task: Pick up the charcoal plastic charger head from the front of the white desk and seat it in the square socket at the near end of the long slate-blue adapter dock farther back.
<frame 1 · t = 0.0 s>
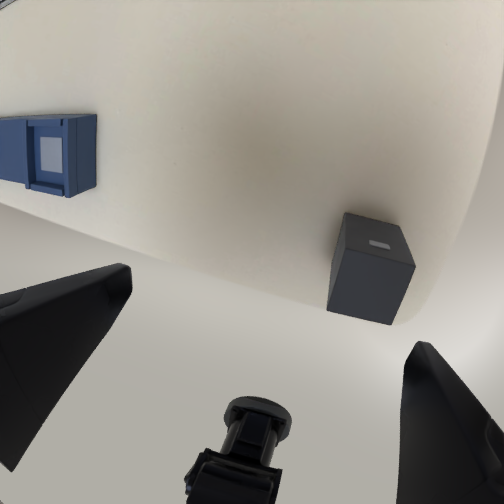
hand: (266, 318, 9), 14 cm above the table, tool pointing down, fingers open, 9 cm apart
adapter: (29, 145, 26), on the table
charger: (365, 245, 22), on the table
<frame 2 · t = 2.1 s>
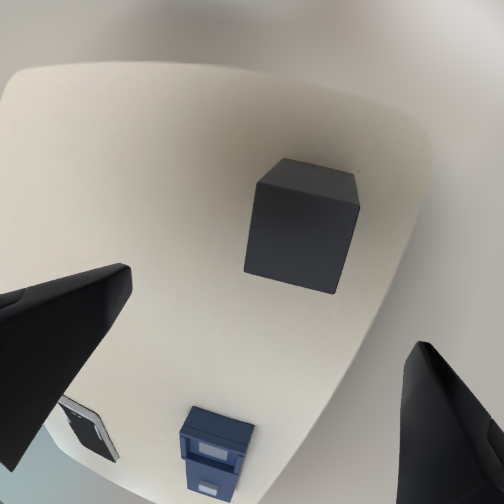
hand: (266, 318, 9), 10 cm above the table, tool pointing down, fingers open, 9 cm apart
adapter: (217, 456, 33), on the table
charger: (311, 199, 18), on the table
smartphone: (91, 428, 42), on the table
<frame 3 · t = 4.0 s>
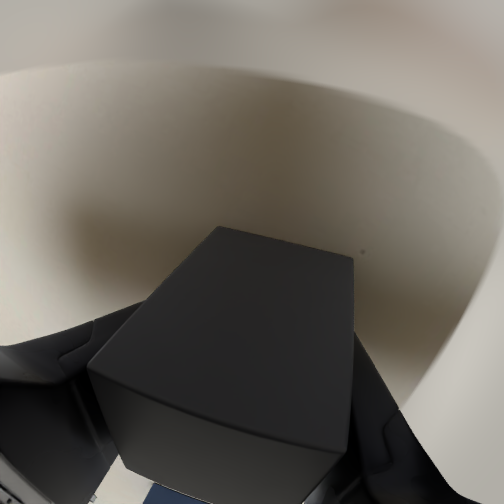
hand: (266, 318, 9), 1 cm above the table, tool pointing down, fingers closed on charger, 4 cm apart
charger: (273, 298, 10), on the table, touching gripper
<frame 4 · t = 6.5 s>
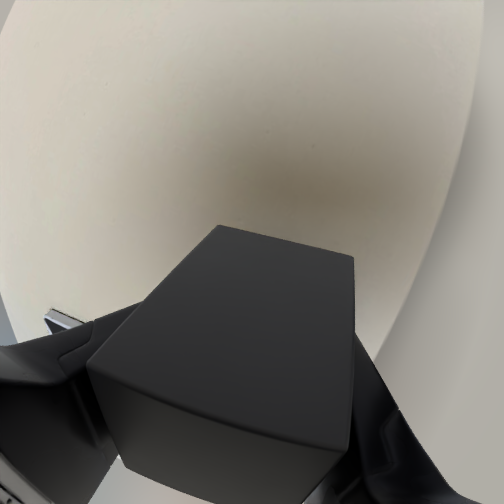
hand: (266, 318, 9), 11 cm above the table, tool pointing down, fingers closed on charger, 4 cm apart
charger: (273, 297, 10), point 10 cm above the table, touching gripper
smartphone: (87, 363, 34), on the table
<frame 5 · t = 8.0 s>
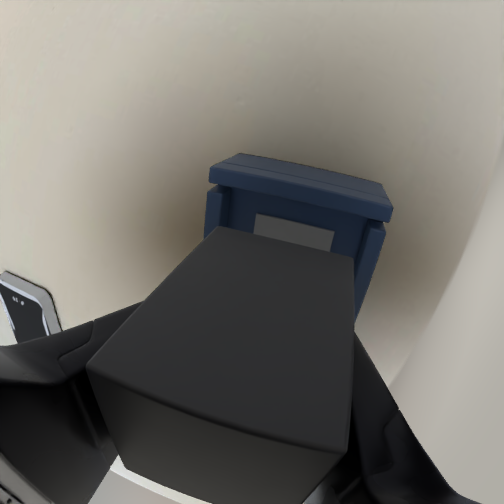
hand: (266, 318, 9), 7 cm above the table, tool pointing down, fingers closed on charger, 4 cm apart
adapter: (272, 342, 18), on the table
charger: (273, 298, 10), point 6 cm above the table, touching gripper
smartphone: (45, 342, 26), on the table
when the fingers open (3 cm above the table, at t = 9.3 s): charger stays where it is, resting on adapter.
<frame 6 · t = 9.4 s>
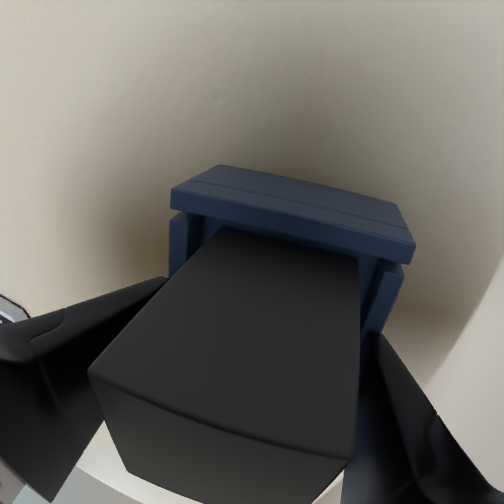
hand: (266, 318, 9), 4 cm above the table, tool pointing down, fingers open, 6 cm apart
adapter: (262, 381, 15), on the table
charger: (276, 299, 10), point 3 cm above the table, touching adapter
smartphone: (29, 359, 24), on the table
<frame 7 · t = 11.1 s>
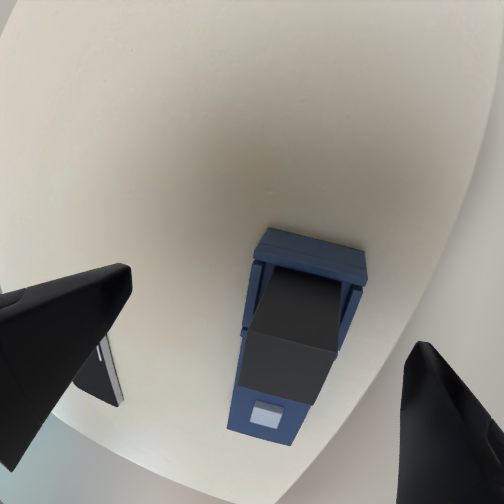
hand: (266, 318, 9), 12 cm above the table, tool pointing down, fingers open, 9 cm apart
adapter: (285, 352, 25), on the table
charger: (301, 301, 19), point 3 cm above the table, touching adapter
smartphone: (89, 350, 33), on the table
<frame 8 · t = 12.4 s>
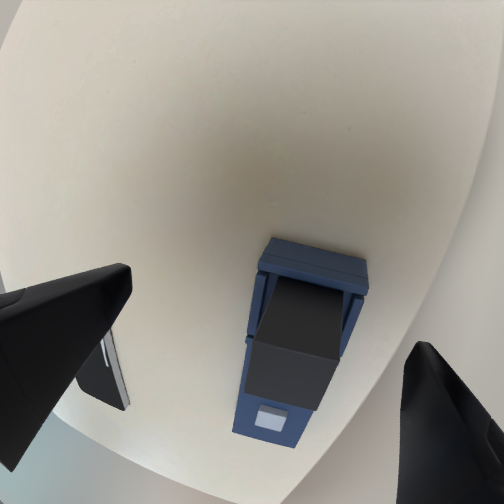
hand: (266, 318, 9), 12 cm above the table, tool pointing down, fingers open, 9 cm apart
adapter: (289, 357, 25), on the table
charger: (304, 310, 20), point 3 cm above the table, touching adapter
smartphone: (95, 356, 34), on the table
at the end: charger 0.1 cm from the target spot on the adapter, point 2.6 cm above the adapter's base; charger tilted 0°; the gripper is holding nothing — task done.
